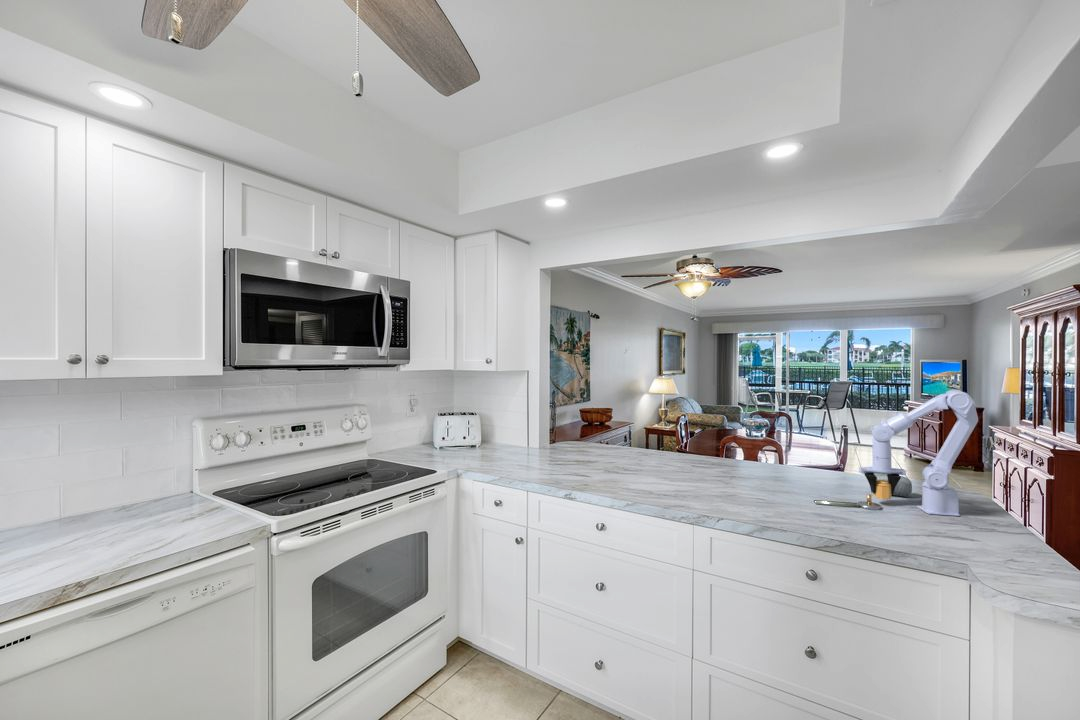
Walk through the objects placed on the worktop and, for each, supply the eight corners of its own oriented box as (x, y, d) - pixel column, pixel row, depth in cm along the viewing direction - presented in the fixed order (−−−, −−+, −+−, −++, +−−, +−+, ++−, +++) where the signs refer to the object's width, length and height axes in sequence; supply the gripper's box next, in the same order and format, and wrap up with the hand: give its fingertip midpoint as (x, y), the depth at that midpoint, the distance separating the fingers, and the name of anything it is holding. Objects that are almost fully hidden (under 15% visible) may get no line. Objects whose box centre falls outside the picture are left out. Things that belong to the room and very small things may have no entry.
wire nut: (886, 495, 175) (886, 479, 175) (893, 499, 170) (893, 483, 170) (871, 494, 176) (871, 479, 176) (877, 498, 171) (877, 482, 171)
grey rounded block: (867, 487, 183) (874, 464, 186) (865, 492, 191) (872, 470, 193) (909, 501, 175) (917, 477, 177) (906, 506, 183) (913, 483, 185)
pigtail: (875, 504, 172) (875, 492, 172) (884, 510, 165) (884, 498, 165) (811, 500, 178) (811, 488, 178) (817, 506, 171) (817, 494, 171)
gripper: (899, 455, 175) (899, 491, 175) (855, 454, 179) (855, 488, 179) (908, 459, 168) (909, 496, 168) (863, 458, 172) (863, 494, 172)
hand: (882, 493), depth 173 cm, fingers closed on wire nut, 5 cm apart
